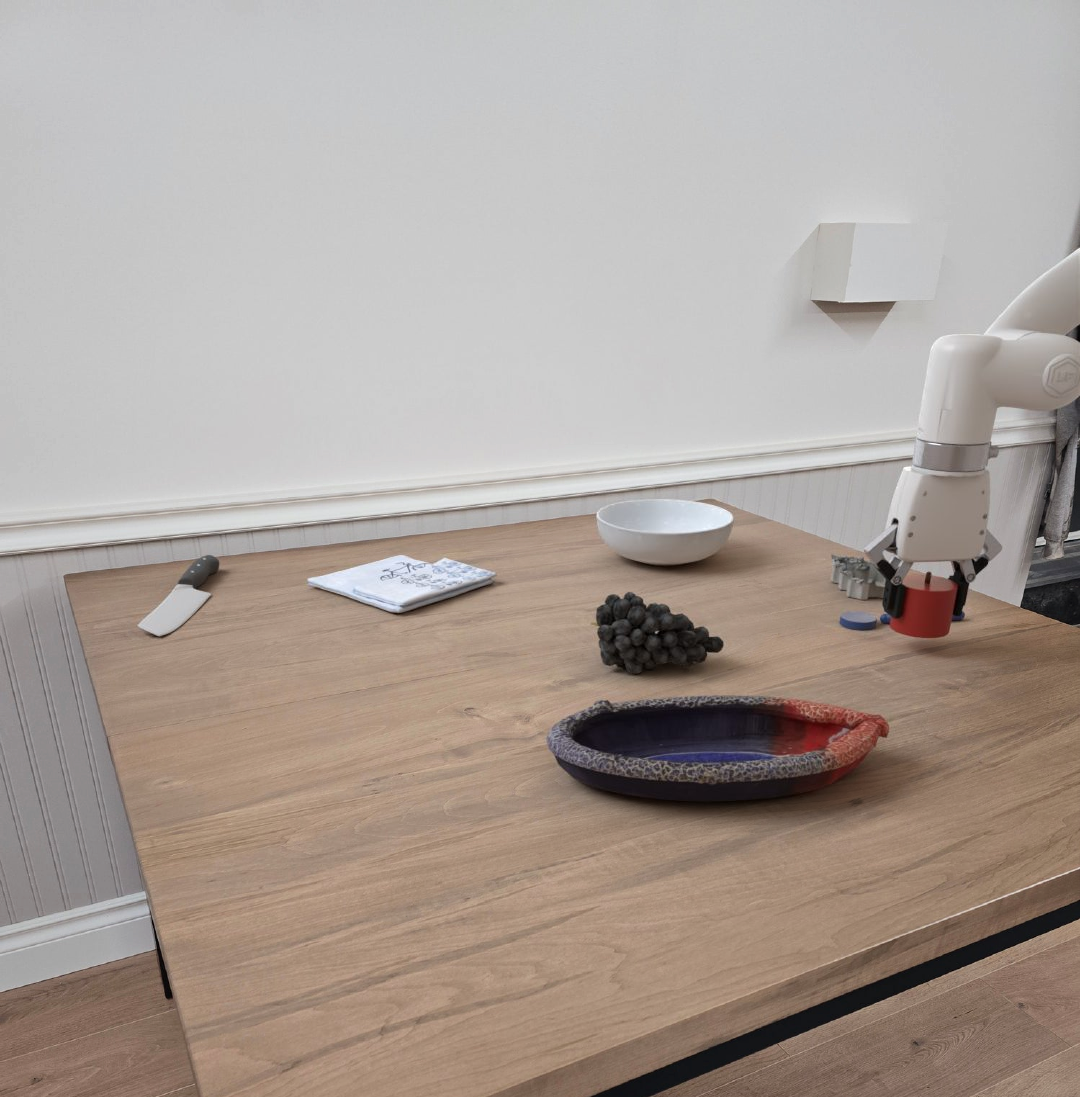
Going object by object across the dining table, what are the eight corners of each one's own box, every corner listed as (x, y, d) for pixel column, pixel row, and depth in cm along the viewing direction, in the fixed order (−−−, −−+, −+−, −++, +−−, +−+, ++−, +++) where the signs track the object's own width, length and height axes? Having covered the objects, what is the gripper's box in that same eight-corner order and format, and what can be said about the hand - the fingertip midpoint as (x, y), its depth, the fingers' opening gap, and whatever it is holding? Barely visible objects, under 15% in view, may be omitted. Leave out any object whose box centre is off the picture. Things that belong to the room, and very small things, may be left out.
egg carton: (901, 601, 131) (906, 571, 129) (845, 601, 131) (850, 571, 129) (877, 577, 140) (881, 549, 138) (825, 577, 140) (829, 549, 138)
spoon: (954, 613, 125) (956, 605, 125) (972, 625, 122) (974, 616, 121) (834, 619, 124) (835, 610, 123) (847, 630, 120) (849, 621, 119)
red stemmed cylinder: (932, 618, 117) (942, 562, 114) (960, 637, 111) (971, 579, 108) (880, 620, 116) (889, 564, 113) (905, 639, 110) (915, 581, 107)
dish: (542, 737, 93) (542, 689, 91) (856, 730, 94) (863, 683, 92) (550, 820, 79) (550, 767, 77) (918, 811, 80) (929, 758, 78)
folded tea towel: (400, 617, 125) (398, 601, 125) (304, 587, 137) (303, 572, 137) (499, 583, 139) (499, 569, 138) (404, 558, 150) (403, 545, 150)
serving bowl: (576, 569, 145) (576, 523, 142) (619, 535, 162) (621, 494, 159) (713, 584, 138) (716, 536, 135) (743, 547, 155) (746, 504, 152)
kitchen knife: (174, 630, 119) (133, 620, 118) (172, 649, 120) (131, 639, 119) (235, 559, 145) (201, 550, 144) (233, 575, 146) (199, 566, 145)
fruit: (727, 583, 108) (592, 579, 108) (734, 630, 102) (591, 625, 102) (717, 643, 114) (589, 639, 114) (723, 691, 108) (588, 686, 108)
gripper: (1006, 449, 109) (975, 601, 117) (858, 452, 107) (837, 606, 115) (1044, 461, 102) (1009, 621, 110) (888, 465, 101) (863, 627, 108)
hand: (922, 612), depth 112 cm, fingers closed on red stemmed cylinder, 6 cm apart
